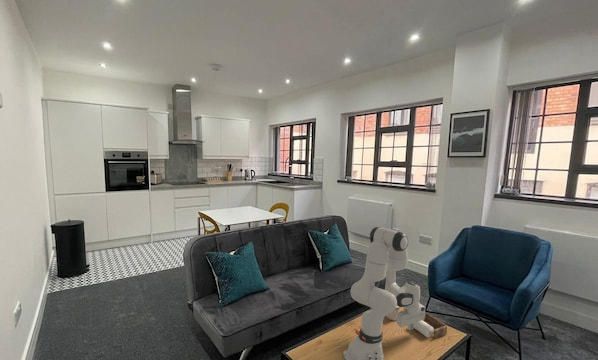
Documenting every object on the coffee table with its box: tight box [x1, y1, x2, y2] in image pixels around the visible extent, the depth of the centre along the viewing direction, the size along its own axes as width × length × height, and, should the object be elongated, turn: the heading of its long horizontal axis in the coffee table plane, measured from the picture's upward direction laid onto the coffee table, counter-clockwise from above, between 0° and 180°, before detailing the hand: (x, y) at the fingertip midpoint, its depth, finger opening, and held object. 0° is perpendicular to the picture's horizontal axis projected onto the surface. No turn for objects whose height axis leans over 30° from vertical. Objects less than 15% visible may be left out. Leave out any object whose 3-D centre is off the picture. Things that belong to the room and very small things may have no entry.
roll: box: [413, 320, 435, 338], centre depth 178 cm, size 12×7×7 cm
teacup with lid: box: [385, 306, 401, 322], centre depth 195 cm, size 12×9×12 cm
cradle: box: [423, 312, 448, 339], centre depth 181 cm, size 10×16×6 cm, turn 25°
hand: (410, 329), depth 174 cm, fingers closed
